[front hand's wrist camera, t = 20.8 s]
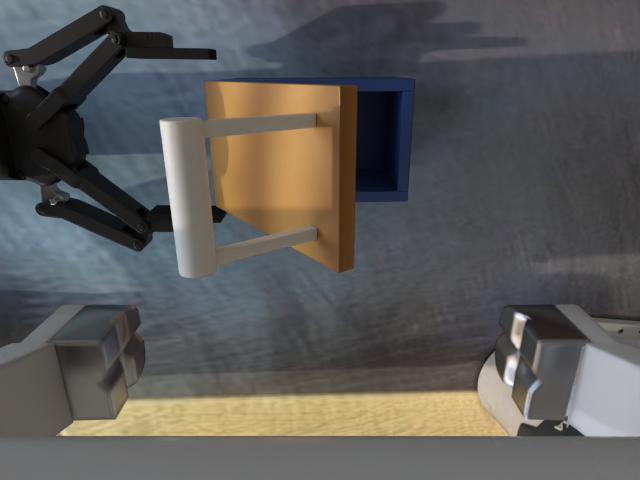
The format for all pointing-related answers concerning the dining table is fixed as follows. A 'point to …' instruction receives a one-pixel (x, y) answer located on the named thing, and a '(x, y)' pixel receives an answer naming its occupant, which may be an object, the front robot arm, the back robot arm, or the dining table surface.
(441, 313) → the dining table surface
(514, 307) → the front robot arm
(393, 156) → the chest
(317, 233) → the lid
